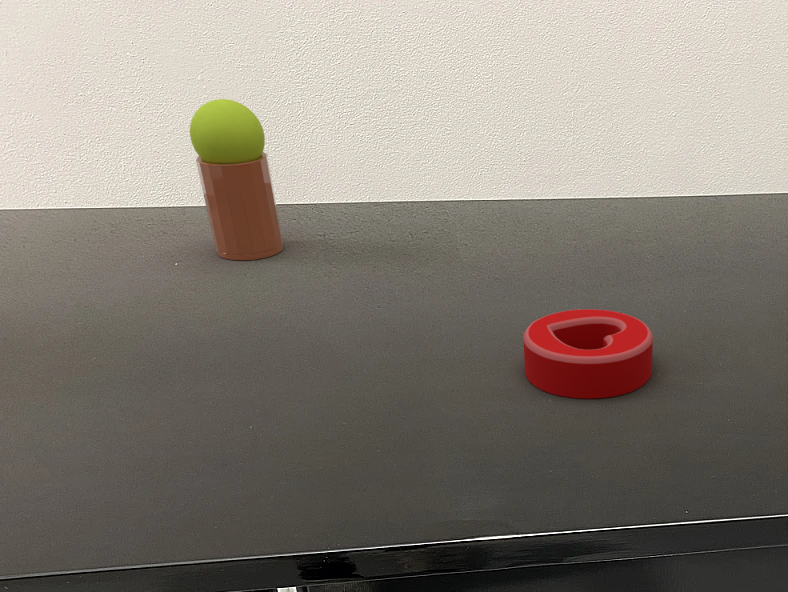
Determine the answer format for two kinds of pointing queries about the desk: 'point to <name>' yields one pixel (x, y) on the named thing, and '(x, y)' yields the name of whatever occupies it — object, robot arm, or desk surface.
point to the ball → (226, 133)
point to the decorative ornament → (588, 353)
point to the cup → (241, 208)
